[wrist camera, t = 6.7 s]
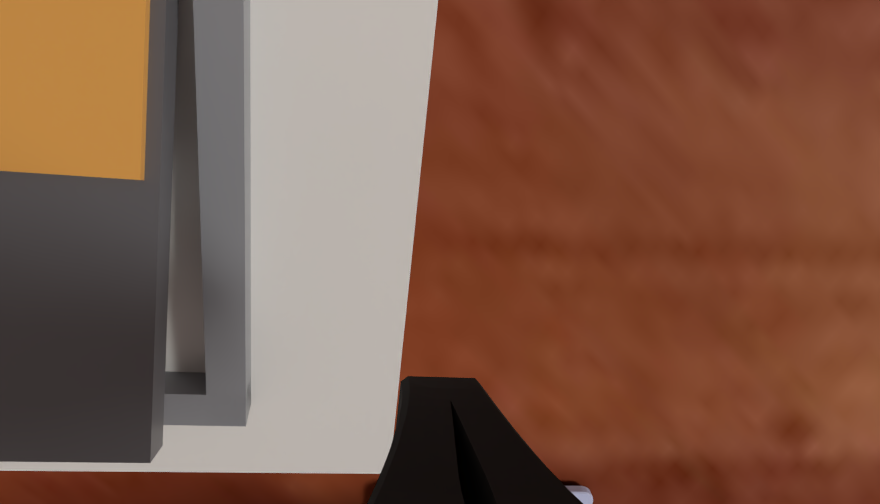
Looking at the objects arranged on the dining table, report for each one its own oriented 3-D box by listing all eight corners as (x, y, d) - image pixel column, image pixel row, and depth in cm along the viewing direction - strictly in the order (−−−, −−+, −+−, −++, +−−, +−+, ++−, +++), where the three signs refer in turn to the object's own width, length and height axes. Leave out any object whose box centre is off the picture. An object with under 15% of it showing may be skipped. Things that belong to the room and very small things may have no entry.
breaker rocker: (162, 445, 15) (145, 468, 14) (-87, 442, 15) (-128, 466, 13) (179, -20, 15) (163, -40, 13) (-83, -48, 14) (-126, -72, 13)
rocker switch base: (385, 412, 24) (391, 508, 20) (-130, 401, 22) (-240, 507, 18) (444, -203, 17) (472, -245, 13) (-328, -320, 14) (-592, -416, 10)
